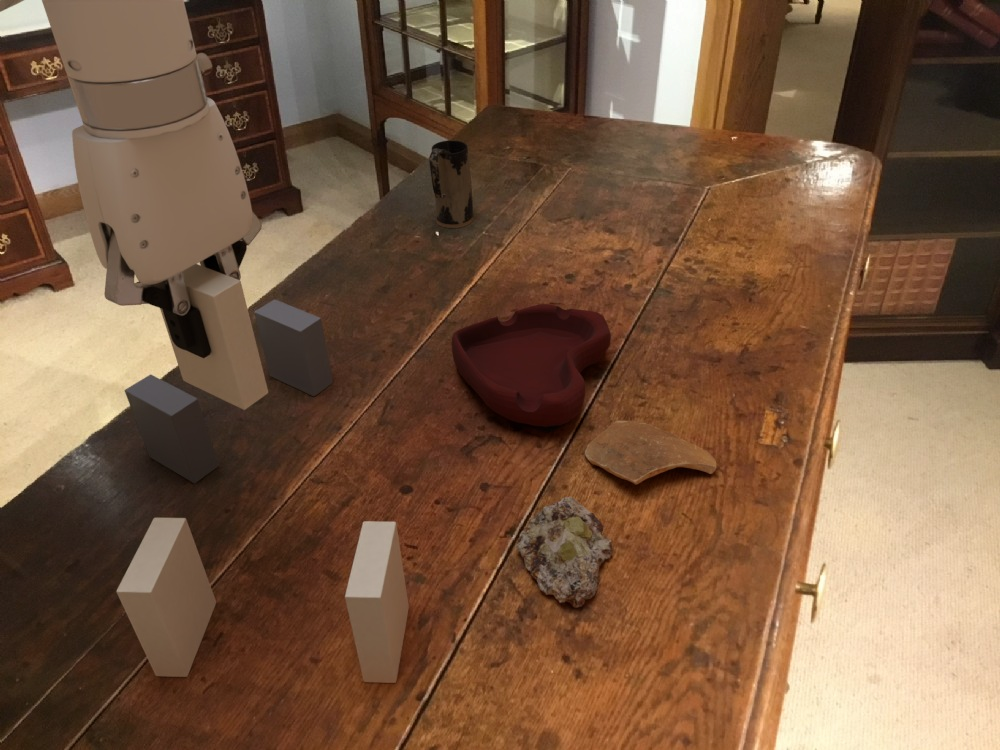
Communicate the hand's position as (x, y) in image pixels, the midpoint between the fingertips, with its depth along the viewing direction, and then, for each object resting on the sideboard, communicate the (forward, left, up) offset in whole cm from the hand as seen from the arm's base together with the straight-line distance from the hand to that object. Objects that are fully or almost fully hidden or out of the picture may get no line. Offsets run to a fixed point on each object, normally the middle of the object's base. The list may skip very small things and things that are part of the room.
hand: (211, 338), depth 63 cm
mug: (-23, +57, -21) cm, 65 cm away
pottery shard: (+24, +27, -21) cm, 42 cm away
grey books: (-14, +10, -21) cm, 27 cm away
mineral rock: (+24, +12, -21) cm, 34 cm away
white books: (+10, -7, -21) cm, 24 cm away
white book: (0, 0, -5) cm, 5 cm away
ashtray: (+7, +31, -21) cm, 38 cm away
